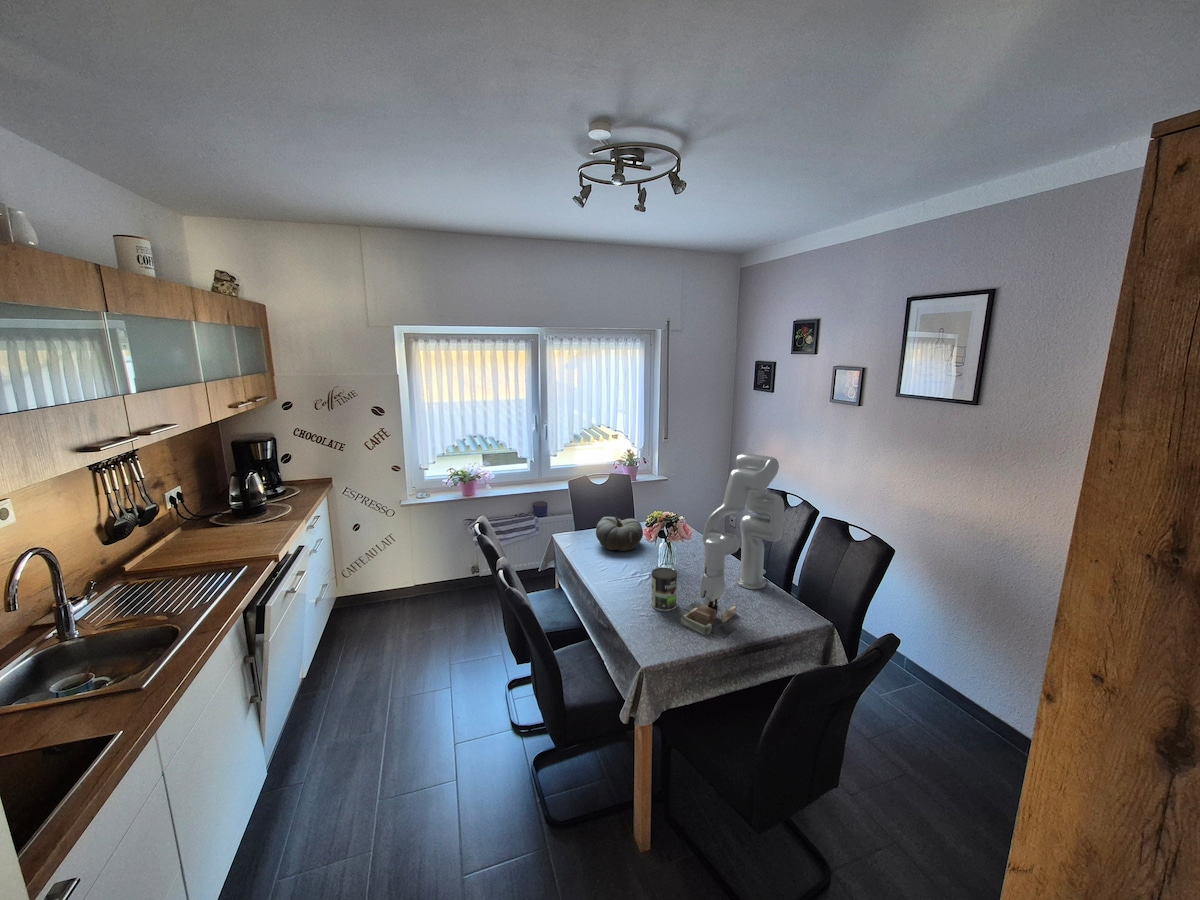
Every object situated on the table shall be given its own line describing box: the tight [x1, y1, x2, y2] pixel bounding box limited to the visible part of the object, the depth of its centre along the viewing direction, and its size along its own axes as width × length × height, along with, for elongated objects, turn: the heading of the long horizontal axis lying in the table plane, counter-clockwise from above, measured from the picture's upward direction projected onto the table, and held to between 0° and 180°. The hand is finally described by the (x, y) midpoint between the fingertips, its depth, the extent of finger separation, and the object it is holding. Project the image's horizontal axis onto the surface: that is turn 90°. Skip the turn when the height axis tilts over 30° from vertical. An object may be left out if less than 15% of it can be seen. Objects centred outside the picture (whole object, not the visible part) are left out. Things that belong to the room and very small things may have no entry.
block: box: [693, 604, 718, 626], centre depth 182 cm, size 6×6×5 cm
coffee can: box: [651, 567, 678, 612], centre depth 194 cm, size 10×10×14 cm
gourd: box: [595, 516, 644, 552], centre depth 254 cm, size 25×25×17 cm
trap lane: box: [680, 600, 737, 638], centre depth 184 cm, size 21×22×3 cm
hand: (712, 613), depth 186 cm, fingers closed
